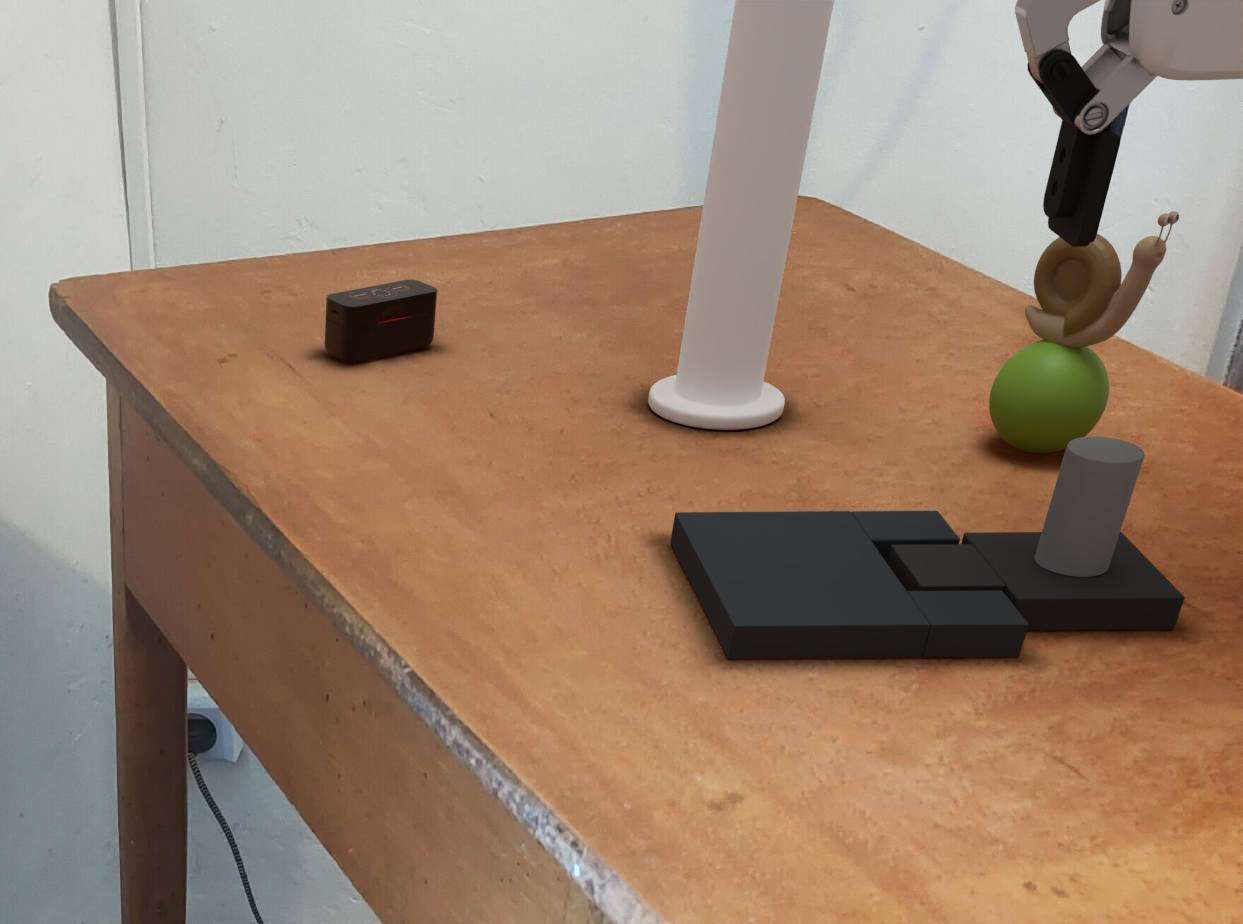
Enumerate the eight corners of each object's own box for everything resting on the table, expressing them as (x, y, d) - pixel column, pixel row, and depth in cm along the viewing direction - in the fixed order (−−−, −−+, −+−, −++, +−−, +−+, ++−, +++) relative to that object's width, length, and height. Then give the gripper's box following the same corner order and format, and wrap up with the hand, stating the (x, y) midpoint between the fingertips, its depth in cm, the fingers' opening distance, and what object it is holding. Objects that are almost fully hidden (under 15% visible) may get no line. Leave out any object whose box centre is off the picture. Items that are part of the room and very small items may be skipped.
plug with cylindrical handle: (1111, 562, 85) (1157, 418, 81) (1174, 630, 80) (1227, 479, 75) (874, 564, 85) (909, 420, 81) (922, 632, 80) (961, 481, 76)
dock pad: (930, 541, 87) (938, 509, 86) (1019, 657, 78) (1029, 623, 77) (669, 543, 87) (675, 511, 86) (727, 659, 78) (734, 625, 77)
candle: (721, 440, 97) (822, -132, 82) (620, 404, 102) (696, -145, 86) (810, 411, 101) (923, -145, 85) (708, 377, 105) (797, -157, 89)
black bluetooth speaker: (448, 346, 110) (453, 288, 108) (346, 367, 107) (349, 308, 105) (402, 325, 113) (406, 268, 111) (302, 345, 110) (304, 287, 108)
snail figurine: (1062, 484, 92) (1139, 223, 85) (954, 445, 96) (1018, 193, 89) (1130, 460, 95) (1211, 204, 87) (1022, 423, 99) (1090, 176, 91)
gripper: (1132, -293, 60) (1002, 269, 71) (1688, -321, 59) (1472, 250, 70) (1048, -307, 66) (940, 215, 77) (1553, -332, 65) (1373, 197, 76)
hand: (1194, 231), depth 73 cm, fingers open, 9 cm apart
